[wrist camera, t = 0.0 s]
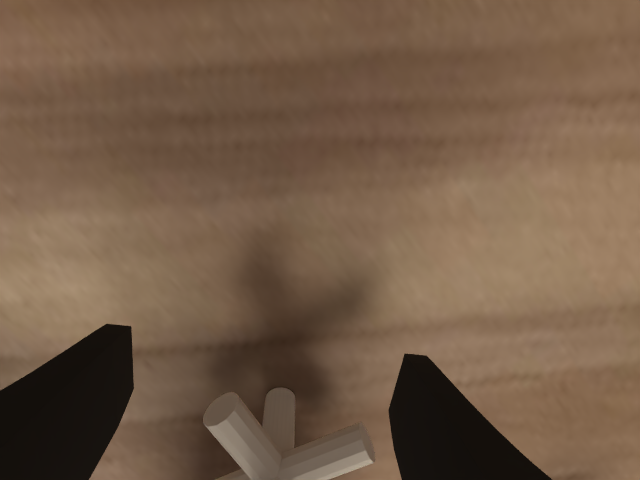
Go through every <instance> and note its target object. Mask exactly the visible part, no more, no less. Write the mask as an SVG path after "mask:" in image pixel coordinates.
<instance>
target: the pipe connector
mask: <svg viewBox="0 0 640 480" xmlns="http://www.w3.org/2000/svg"><path fill="white" fill-rule="evenodd" d="M203 424H204V425H205V426H206V427H207V428H208V429H209V431H210V432H211V433H212V434H213V435H214V437H215V438H216V439H217V440H218V441H219V442H220V444H221V445H222V446H223V447H224V448H225V449H226V451H227V452H228V453H229V454H230V455H231V457H232V458H233V459H234V460H235V461H236V462H237V464H238V465H239V466H240V467H241V468H242V469H240V470H237V471H235V472H232V473H230V474H227V475H224V476H222V477H219V478H217V479H214V480H329V479H332V478H334V477H337V476H340V475H342V474H345V473H348V472H350V471H353V470H356V469H358V468H361V467H364V466H366V465H369V464H372V463H374V462H375V452H374V449H373V445H372V442H371V439H370V436H369V434H368V432H367V430H366V428H365V426H364V425H363V424H362V422H359V423H357V424H354V425H352V426H349V427H347V428H344V429H342V430H339V431H337V432H334V433H331V434H329V435H326V436H324V437H321V438H319V439H316V440H314V441H311V442H308V443H306V444H303V445H301V446H298V447H296V448H294V437H295V395H294V393H293V392H292V391H291V390H289V389H287V388H282V387H280V388H274V389H272V390H270V391H269V392H268V393H267V395H266V399H265V407H264V416H263V424H262V426H261V424H260V423H259V422H258V421H257V419H256V418H255V417H254V415H253V414H252V413H251V411H250V410H249V409H248V408H247V406H246V405H245V404H244V402H243V401H242V400H241V399H240V397H239V396H238V395H237V394H236V393H234V392H229V393H224V394H223V395H221V396H219V397H218V398H216V399H215V400H214V401H213V402H212V403H211V404H210V405H209V406H208V408H207V410H206V412H205V414H204V415H203Z"/></svg>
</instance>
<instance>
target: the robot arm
mask: <svg viewBox="0 0 640 480" xmlns="http://www.w3.org/2000/svg"><path fill="white" fill-rule="evenodd" d="M133 389H134V383H133V358H132V333H131V326H122V325H112V324H106V325H104V326H102V327H101V328H99V329H98V330H96V331H94V332H93V333H91V334H90V335H88V336H87V337H85V338H84V339H82V340H81V341H79V342H78V343H76V344H75V345H73V346H72V347H70V348H69V349H67V350H65V351H64V352H62V353H61V354H59V355H58V356H56V357H55V358H53V359H51V360H50V361H48V362H47V363H45V364H44V365H42V366H41V367H39V368H37V369H36V370H34V371H33V372H31V373H29V374H28V375H26V376H25V377H23V378H21V379H19V380H18V381H16V382H14V383H13V384H11V385H9V386H8V387H6V388H4V389H2V390H1V391H0V480H89V478H90V477H91V475H92V473H93V471H94V469H95V468H96V466H97V464H98V462H99V461H100V459H101V457H102V455H103V453H104V451H105V450H106V448H107V446H108V444H109V442H110V441H111V439H112V437H113V435H114V433H115V431H116V430H117V428H118V426H119V423H120V421H121V419H122V416H123V414H124V412H125V409H126V407H127V404H128V402H129V399H130V397H131V394H132V392H133ZM389 418H390V425H391V433H392V439H393V446H394V451H395V455H396V459H397V463H398V466H399V470H400V474H401V478H402V480H552V479H551V478H550V477H548V476H547V475H546V474H545V473H544V472H543V471H541V470H540V469H539V468H538V467H537V466H535V465H534V464H533V463H532V462H531V461H530V460H529V459H527V458H526V457H525V456H524V455H523V454H522V453H521V452H520V451H519V450H518V449H516V448H515V447H514V446H513V445H512V444H511V443H510V442H509V441H508V440H507V439H506V438H505V437H504V436H503V435H502V434H501V433H500V432H499V431H498V430H497V429H496V428H495V427H494V426H493V425H492V424H491V423H490V422H489V421H488V420H487V419H486V418H485V417H484V416H483V415H482V414H481V413H480V412H479V411H478V410H477V409H476V408H475V407H474V406H473V405H472V404H471V403H470V402H469V401H468V400H467V399H466V398H465V396H464V395H463V394H462V393H461V392H460V391H459V390H458V389H457V388H456V387H455V386H454V385H453V384H452V382H451V381H450V380H449V379H448V378H447V377H446V376H445V375H444V374H443V373H442V371H441V370H440V369H439V368H438V367H437V366H436V365H435V364H434V363H433V362H432V361H431V360H430V359H429V358H428V357H427V356H424V355H414V354H405V355H404V358H403V362H402V365H401V369H400V372H399V376H398V379H397V383H396V386H395V390H394V393H393V397H392V400H391V404H390V407H389Z"/></svg>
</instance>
